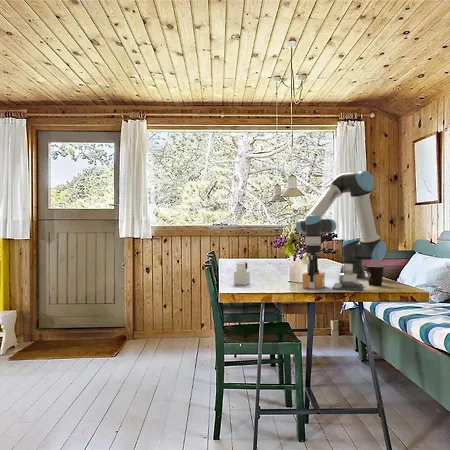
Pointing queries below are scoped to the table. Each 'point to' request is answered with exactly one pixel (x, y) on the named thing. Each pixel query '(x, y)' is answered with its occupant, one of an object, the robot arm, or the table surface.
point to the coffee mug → (375, 275)
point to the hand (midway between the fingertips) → (313, 286)
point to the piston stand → (347, 280)
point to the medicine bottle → (241, 274)
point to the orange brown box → (318, 280)
